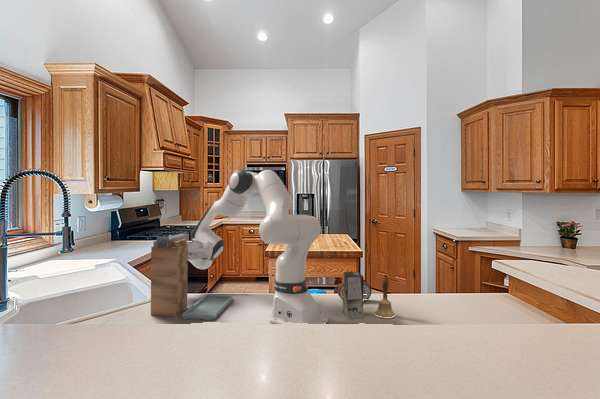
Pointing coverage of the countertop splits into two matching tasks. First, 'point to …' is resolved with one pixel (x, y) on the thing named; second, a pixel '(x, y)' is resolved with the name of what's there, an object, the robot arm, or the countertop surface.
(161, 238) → the gray rectangular bar
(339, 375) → the countertop surface
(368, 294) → the tin
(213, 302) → the tray
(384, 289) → the hand bell
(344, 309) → the coffee box
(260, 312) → the countertop surface
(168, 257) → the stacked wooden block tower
